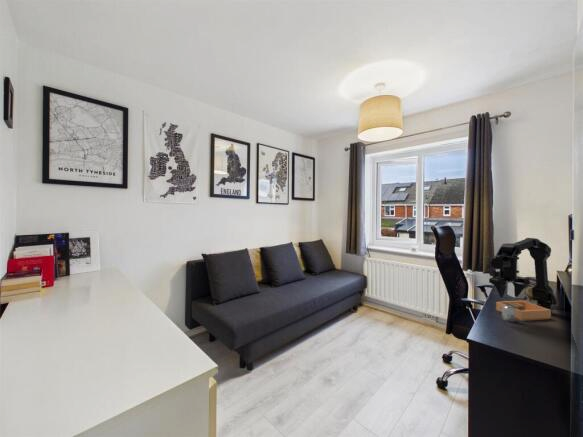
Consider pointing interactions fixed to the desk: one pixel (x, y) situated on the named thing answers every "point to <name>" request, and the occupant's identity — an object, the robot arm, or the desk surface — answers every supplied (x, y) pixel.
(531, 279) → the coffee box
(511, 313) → the grey cylinder
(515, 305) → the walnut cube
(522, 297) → the supplement box
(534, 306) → the tote
